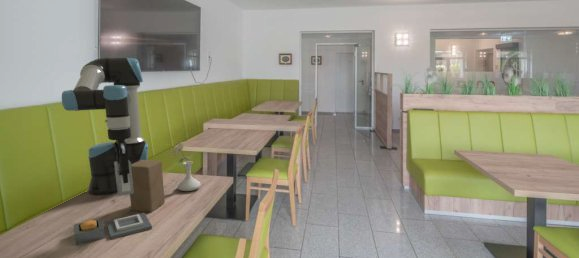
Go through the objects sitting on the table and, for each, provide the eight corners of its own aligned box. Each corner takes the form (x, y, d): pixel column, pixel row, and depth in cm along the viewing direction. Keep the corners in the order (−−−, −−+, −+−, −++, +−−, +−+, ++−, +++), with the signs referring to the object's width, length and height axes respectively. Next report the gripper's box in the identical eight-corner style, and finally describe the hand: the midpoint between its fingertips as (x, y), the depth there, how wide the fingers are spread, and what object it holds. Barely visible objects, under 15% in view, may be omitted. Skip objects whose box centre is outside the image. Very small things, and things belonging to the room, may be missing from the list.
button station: (75, 234, 122) (73, 224, 122) (102, 227, 127) (101, 218, 127) (75, 245, 115) (74, 234, 114) (105, 237, 120) (104, 227, 119)
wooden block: (151, 212, 140) (147, 167, 137) (130, 210, 142) (126, 165, 139) (165, 203, 150) (161, 160, 146) (145, 201, 152) (141, 159, 148)
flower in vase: (191, 183, 175) (188, 137, 170) (205, 187, 169) (203, 140, 164) (169, 190, 165) (166, 141, 160) (184, 196, 158) (181, 145, 153)
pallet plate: (106, 224, 130) (105, 218, 130) (144, 215, 138) (144, 210, 138) (110, 239, 119) (110, 233, 118) (152, 228, 127) (151, 223, 126)
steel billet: (117, 192, 126) (114, 161, 124) (131, 189, 129) (128, 159, 127) (119, 196, 122) (115, 164, 120) (133, 193, 125) (130, 162, 123)
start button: (81, 230, 122) (80, 222, 121) (96, 226, 124) (95, 218, 124) (81, 235, 117) (80, 227, 117) (97, 231, 120) (96, 224, 120)
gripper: (104, 125, 126) (111, 183, 131) (110, 133, 112) (117, 198, 116) (126, 123, 130) (131, 179, 135) (134, 130, 116) (140, 193, 120)
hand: (125, 188), depth 125 cm, fingers closed on steel billet, 5 cm apart
